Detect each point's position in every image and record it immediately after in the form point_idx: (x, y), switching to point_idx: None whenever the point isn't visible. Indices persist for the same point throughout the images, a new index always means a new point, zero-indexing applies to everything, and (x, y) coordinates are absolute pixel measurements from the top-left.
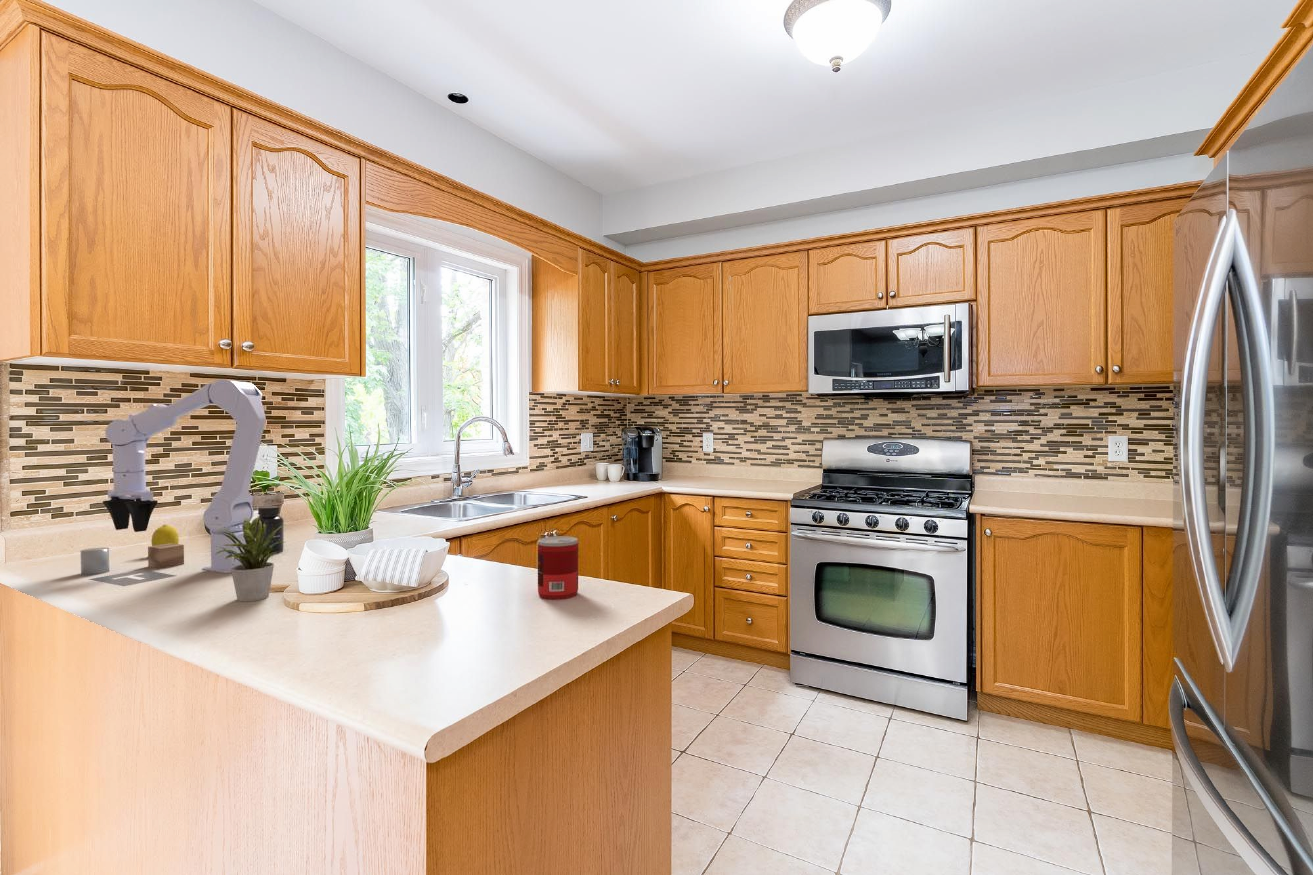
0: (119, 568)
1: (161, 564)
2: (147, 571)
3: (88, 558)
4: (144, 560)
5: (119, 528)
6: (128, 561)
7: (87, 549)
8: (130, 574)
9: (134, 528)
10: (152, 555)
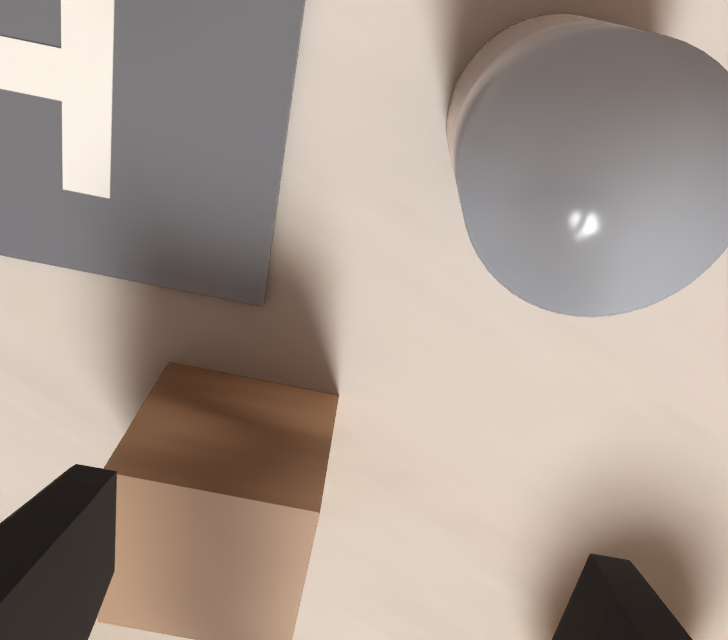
0: (536, 323)
1: (154, 389)
2: (144, 266)
3: (535, 43)
4: (613, 553)
5: (588, 588)
6: (710, 512)
7: (719, 169)
8: (154, 147)
9: (56, 490)
10: (256, 445)
